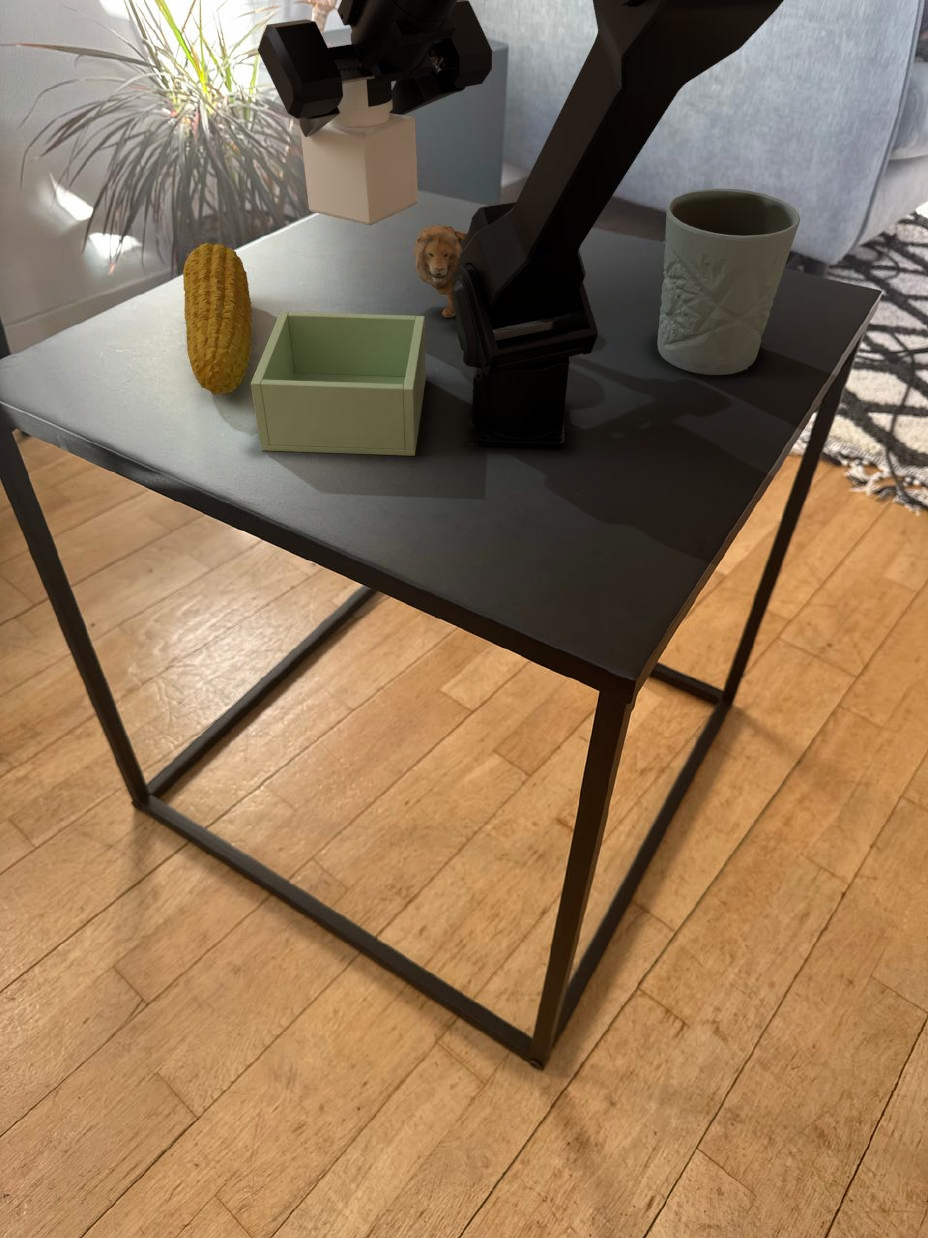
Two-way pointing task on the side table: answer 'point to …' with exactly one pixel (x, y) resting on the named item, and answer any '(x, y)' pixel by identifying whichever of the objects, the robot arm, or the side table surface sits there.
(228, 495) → the side table surface
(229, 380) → the food
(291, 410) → the bin
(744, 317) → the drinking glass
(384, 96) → the medicine bottle
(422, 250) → the lion figurine
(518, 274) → the robot arm
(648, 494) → the side table surface
